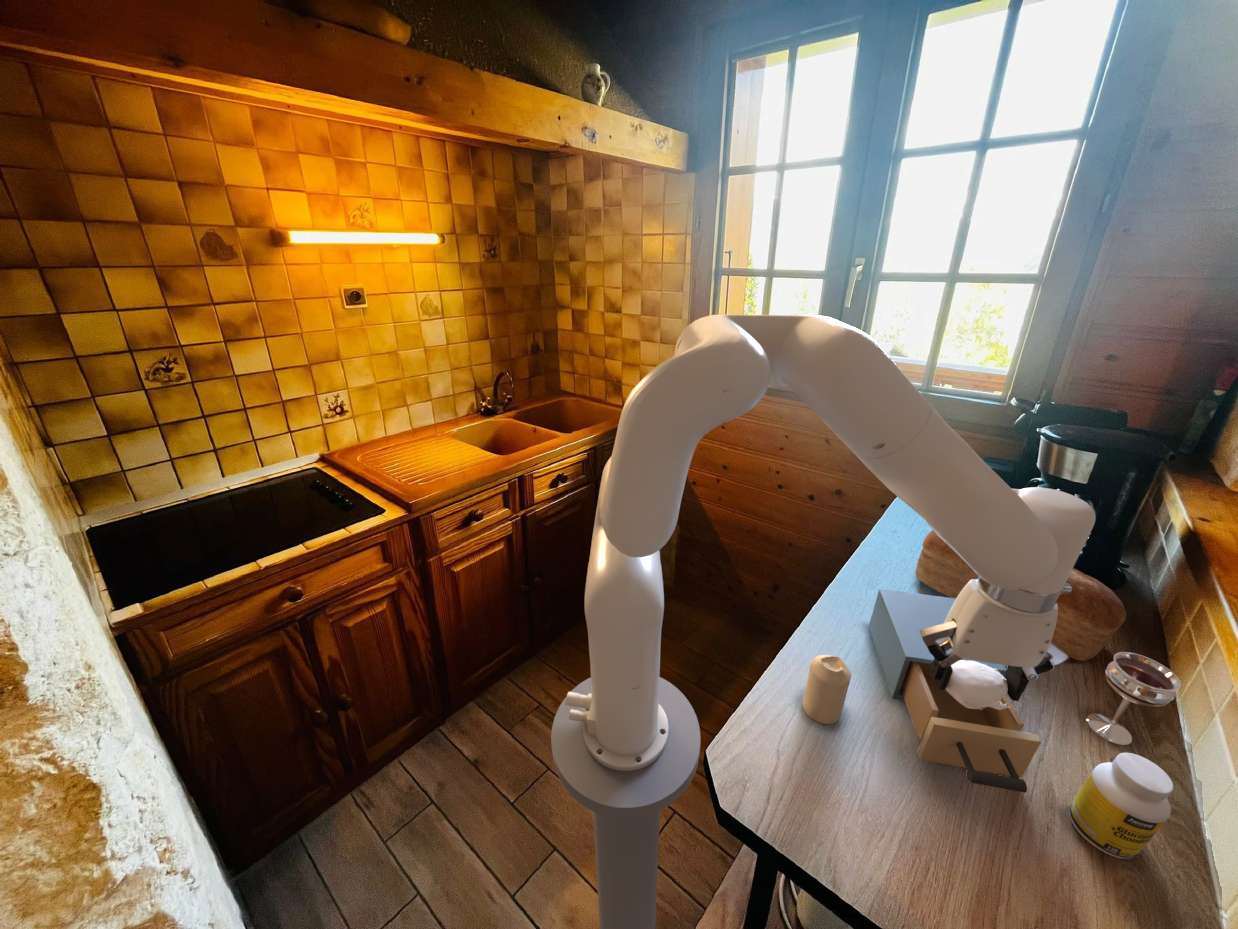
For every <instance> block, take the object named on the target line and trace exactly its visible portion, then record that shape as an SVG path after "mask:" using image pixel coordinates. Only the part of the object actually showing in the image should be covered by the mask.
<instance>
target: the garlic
mask: <svg viewBox="0 0 1238 929" xmlns="http://www.w3.org/2000/svg"><path fill="white" fill-rule="evenodd" d="M951 667H952V669H953V672H952V675H951V677H950V679H949V682H948V684H947V687H946V690H947V692H948V693H949V694H950V695H951V696H952V697H953V698H954V699H956V700H957V701H958V702H959V703H960V704H961V705H963V706H964V707H966V708H970V709H980V710H983V709H982V708H986V707H991V708H994V709H997V710H1002V709H1005V708H1011V707H1009V706H1006V703H1005V704H1004V705H1003V704H1002V702H1001V701H1000V700H1001V698H1002V697H1003V696H1004V695H1006V694H1007V692H1008V686H1007V682H1006V679H1005V678H1004V676H1003V675H1001V674H1000V673H999V671H998V670H997V669H996V668H991V667H989V666H987V665H984V664H981V663H978V662H975V661H965V660H961V661H958V662H956V663H954V664H952V665H951ZM1007 695H1008V694H1007ZM999 702H1000V704H999Z"/></svg>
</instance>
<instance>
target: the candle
mask: <svg viewBox="0 0 1238 929" xmlns="http://www.w3.org/2000/svg"><path fill="white" fill-rule="evenodd" d="M851 679H852V671H851V669H850V668H849V666H848V665H847V664H846V662H844V661H843V660H842V658H841V657H839V656H834V655H831V654H819V655H816V656H815V657H814V658H812V660H811V662H810V668H809V672H808V677H807V681H806V684H805V690H804V695H803V700H802V707H803V709H804V711H805V713H806V715H807V716H808V717H809V718H811V719H812V720H814V721H815V722H816V723H820V724H823V725H832V724H835V723H837V722H838V721H839V719H840V718H841V715H842V712H843V709H844V706H845V700H846V698H847V694H848V690H849V686H850V683H851Z"/></svg>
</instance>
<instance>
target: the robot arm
mask: <svg viewBox="0 0 1238 929" xmlns="http://www.w3.org/2000/svg"><path fill="white" fill-rule="evenodd" d="M673 354H674V356H672V357H670V358H668V359H666V360H665V361H663V362H661V363H660V364H658V365H657V366H655V367H653V369H651V370H650V371H649V372H648V373H646V374H645V375H644V376H643V377H642V378H641V379H640V380H639V382H637V383H636V385H635V386H634V387H633V388H632V390H631V391H630V393H629V394H628V396H627V398H626V400H625V402H624V405H623V406H622V410H621V413H620V418H619V421H618V425H617V430H616V435H615V439H614V444H613V449H612V453H611V456H610V457H609V459H608V460H607V461H606V463H605V465H604V468H603V470H602V475H601V480H600V486H599V491H598V499H597V504H596V505H597V506H596V510H595V518H594V523H593V524H594V525H593V531H592V537H591V545H590V553H589V561H588V563H587V564H588V565H587V573H586V578H585V579H586V580H585V581H586V582H585V587H584V588H585V589H584V604H583V605H584V616H585V622H586V629H587V637H588V639H587V640H588V655H589V665H590V677H591V688H592V694H590V693H589V694H588V696H587V695H581V694H580V693H574V692H571V691H568V692H567V694H566V696H565V698H566V705H567V706H573V707H582V708H586V712H581V711H578V710H573V709H571V710H570V713H569V720H574V721H582V722H584V723H583V735H584V741H585V744H586V747H587V749H588V750H589V752H590V753H591V755H592V756H593V757H594V758H595V759H596V760H597V761H598V762H600V763H601V764H602V765H604V766H606V767H608V768H611V769H614V770H619V771H633V770H638V769H641V768H643V767H646V766H648V765H649V764H651V763H652V762H654V761H655V760H656V759H657V758H658V757H659V756H660V754H661V753H662V752H663V750H664V748H665V746H666V743H667V739H668V728H669V727H668V720H667V717H666V714H665V712H664V710H663V708H662V707H661V705H660V704H659V677H660V675H661V672H660V670H661V644H662V643H661V641H662V628H663V627H662V626H663V620H664V612H665V593H664V592H665V591H664V579H663V570H662V563H661V562H662V561H661V551H660V550H662V548H663V547H664V546H666V544H667V543H668V542H669V540H670V539H671V537H672V535H673V534H674V531H675V529H676V527H677V523H678V520H679V515H680V509H681V503H682V500H683V499H682V498H683V494H684V490H685V485H686V482H687V477H688V476H687V475H688V473H689V469H690V466H691V462H692V459H693V456H694V453H695V450H696V449H697V446H698V445H699V443H700V442H701V440H702V439H703V437H705V436H706V434H708V433H710V432H711V431H712V430H714V429H715V428H717V427H719V426H721V425H724V424H726V423H728V422H730V421H733V420H735V419H737V418H740V417H741V416H744V415H745V414H747V413H749V412H750V411H751V410H753V409H754V408H755V407H757V405H758V404H759V402H760V401H761V400H762V399H763V397H764V396H765V395H766V392H767V390H768V388H790V389H791V390H792V391H793V392H795V394H796V395H797V396H798V397H799V398H800V399H801V400H802V401H803V403H805V405H806V406H807V407H808V408H809V409H810V410H811V411H812V412H813V413H814V414H815V415H816V416H817V417H818V418H819V419H820V420H821V421H822V422H823V423H824V424H825V425H826V427H828V429H830V430H831V431H832V432H833V434H835V436H836V437H837V438H838V439H840V441H841V442H842V443H843V444H844V445H845V446H846V447H847V448H848V449H849V450H850V451H851V452H852V453H853V455H855V457H856V458H858V460H860V461H861V463H862V464H863V465H864V466H865V467H866V468H867V469H868V470H869V471H870V472H871V473H872V474H873V475H874V476H875V478H877V479H878V480H879V481H880V482H881V483H882V484H883V485H884V486H885V487H886V488H887V489H888V490H889V491H890V492H891V493H893V494H894V495H895V496H896V497H897V498H899V499H900V500H901V501H902V502H903V503H904V504H905V505H907V506H908V507H910V508H911V509H912V510H913V511H914V512H915V513H916V514H918V516H920V517H921V518H922V519H923V520H924V521H925V522H926V524H927V525H928V527H930V529H931V531H932V530H933V531H934V532H935V533H936V534H937V535H938V536H939V537H940V538H941V539H942V540H943V541H944V542H945V543H946V544H947V545H948V546H949V547H950V548H952V549H953V550H954V551H955V552H956V553H957V554H958V555H959V556H960V557H961V558H962V559H963V560H964V561H965V562H966V563H967V564H968V565H969V566H970V568H971V569H972V570H973V571H974V572H975V573H976V574H977V575H978V576H979V578H978V579H971V580H970V581H969V582H968V583H967V584H966V585H965V587H964V588H963V589H962V591H961V592H960V593H959V595H958V596H957V598H956V600H955V601H954V603H953V605H952V607H951V609H950V611H949V613H948V615H947V617H946V619H945V621H944V623H943V624H939V625H936V626H932V627H928V628H925V629H922V630H920V635H921V637H922V639H923V641H924V643H925V645H926V646H927V648H928V650H929V652H930V653H931V654H932V655H933V657H934V660H933V663H932V666H931V668H930V674H931V676H932V678H933V679H935V681H936V684H937V686H938V688H939V689H941V690H944V689H946V687H947V684H948V682H949V679H950V677H951V675H952V672H953V669H952V667H951V665H952V664H954V663H956V662H958V661H959V660H961V659H963V658H965V659H970V660H976V661H982V662H988V663H995V664H1002V665H1004V666H1007V667H1006V669H1007V670H1006V672H1005V675H1004V678H1005V679H1006V682H1007V686H1008V692H1007V696H1008V698H1009V699H1010V700H1012V702H1019V701H1020V699H1021V697H1022V695H1023V693H1024V692H1025V691H1026V689H1027V687H1028V685H1029V683H1030V681H1036V680H1038V679H1039V675H1041V674H1044V673H1047V672H1050V671H1052V670H1053V669H1054V666H1058V665H1060V664H1062V663H1063V662H1066V661H1068V660H1069V659H1070V657H1069V656H1068V655H1067V654H1066V652H1065V651H1064V650H1063V649H1062V648H1061V647H1060V646H1058V645H1057V644H1056V643H1054V642H1053V641H1051V640H1052V637H1053V634H1054V631H1055V627H1056V622H1057V615H1058V605H1057V603H1056V602H1057V600H1058V598H1059V596H1060V594H1070V593H1071V591H1072V587H1071V585H1070V584H1069V583H1066V581H1067V579H1068V577H1069V575H1070V573H1071V571H1072V569H1073V568H1075V565H1076V562H1077V560H1078V559H1079V557H1080V555H1081V552H1082V550H1083V549H1084V546H1085V544H1086V543H1087V541H1088V538H1089V536H1090V534H1091V532H1092V530H1093V528H1094V526H1095V523H1096V513H1095V510H1094V509H1093V507H1092V506H1091V505H1090V504H1089V503H1088V502H1087V501H1085V500H1083V499H1081V498H1080V497H1078V496H1075V495H1073V494H1070V493H1068V492H1065V491H1063V490H1058V489H1053V488H1049V487H1040V486H1030V487H1024V488H1020V489H1019V488H1011V487H1010V485H1008V483H1006V482H1005V480H1004V479H1002V477H1001V476H1000V475H998V473H997V472H995V471H994V470H993V468H991V467H990V466H989V465H988V464H987V463H986V462H985V461H984V460H983V459H982V458H981V457H980V456H979V454H977V452H976V451H975V450H974V449H973V448H972V447H971V446H970V444H968V442H967V441H965V439H964V438H963V437H962V436H961V435H959V433H958V432H957V431H955V430H954V428H953V427H951V426H950V425H949V424H948V423H947V422H946V420H945V419H944V418H943V417H942V416H941V415H940V413H938V411H936V409H935V408H934V407H933V405H931V403H930V402H929V401H928V400H927V399H926V398H925V396H923V394H922V393H921V392H920V391H919V390H918V389H917V387H916V386H915V385H914V383H913V382H911V380H910V379H909V378H908V376H906V374H905V373H904V372H903V371H902V370H901V369H900V367H899V366H898V365H897V363H896V362H895V361H894V360H893V358H891V357H890V356H889V354H888V352H886V351H885V349H884V348H883V347H882V346H881V345H880V344H879V343H878V342H877V341H876V340H875V339H873V337H872V336H870V335H869V334H867V333H866V332H864V331H862V330H861V329H858V328H856V327H855V326H851V325H849V324H847V323H845V322H842V321H840V320H838V319H835V318H834V317H830V316H826V315H825V316H824V315H815V314H814V315H813V314H812V315H811V314H732V313H731V314H729V313H726V314H723V313H722V314H710V315H706V316H703V317H699V318H697V319H696V320H693V321H692V322H691V323H690V324H688V325H687V326H686V327H685V328H684V329H683V330H682V331H681V333H680V335H679V337H678V338H677V341H676V342H675V348H674V353H673ZM946 637H949V638H947V639H946V640H944V641H942V642H941V643H939V644H938V643H937V642H936V641H937V640H938V639H942V638H946ZM950 649H953V652H951V653H949V654H948V655H947V653H946V652H947V651H948V650H950Z"/></svg>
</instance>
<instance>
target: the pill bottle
mask: <svg viewBox="0 0 1238 929" xmlns="http://www.w3.org/2000/svg"><path fill="white" fill-rule="evenodd" d="M1174 788H1175V787H1174V783H1173V781H1172V779H1171V777H1170V776H1169V775H1168V773H1166V771H1165V770H1164V769H1162V768H1161V767H1160V766H1159V765H1157V764H1156V763H1154V762H1153V761H1151V760H1149V759H1147V758H1145V757H1143V756H1141V755H1139V754H1135V753H1133V752H1132V753H1131V752H1121V753H1118V754H1117V756H1116V757H1115V758H1114V759H1113V760H1112V761H1109V762H1103V763H1099V764H1098V765H1096V766H1095V767H1094V768H1093V770H1092V771H1091V772H1090V774H1089V775H1088V777H1087V778H1086V780H1085V782H1084V783H1083V784H1082V786H1081V788H1080V789H1079V791H1078V792H1077V794H1076V795H1075V797H1074V799H1073V800H1072V802H1071V803H1070V805H1069V808H1068V813H1069V818H1070V820H1071V823H1072V825H1073V826H1074V828H1075V829H1076V830H1077V832H1078V833H1079V834H1080V835H1081V836H1082V838H1084V839H1085V840H1086V841H1087V842H1088V843H1089V844H1091V845H1092V846H1093V847H1094V848H1096V849H1098V850H1099V851H1101V852H1103V853H1105V854H1107V855H1109V856H1112V857H1114V858H1117V859H1124V860H1127V859H1129V860H1130V859H1133V858H1136V857H1137V856H1138V855H1139V854H1140V853H1141V852H1142V850H1143V849H1144V848H1145V847H1146V846H1147V844H1148V843H1150V841H1151V840H1152V838H1153V837H1154V836H1155V835H1156V834H1157V832H1158V831H1159V830H1160V829H1161V827H1162V826H1163V825H1165V823H1166V822H1167V820H1168V819H1169V818H1170V816H1171V811H1172V810H1171V805H1170V804H1171V803H1170V802H1169V799H1168V798H1170V796H1171V794H1172V793H1173V791H1174Z"/></svg>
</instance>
